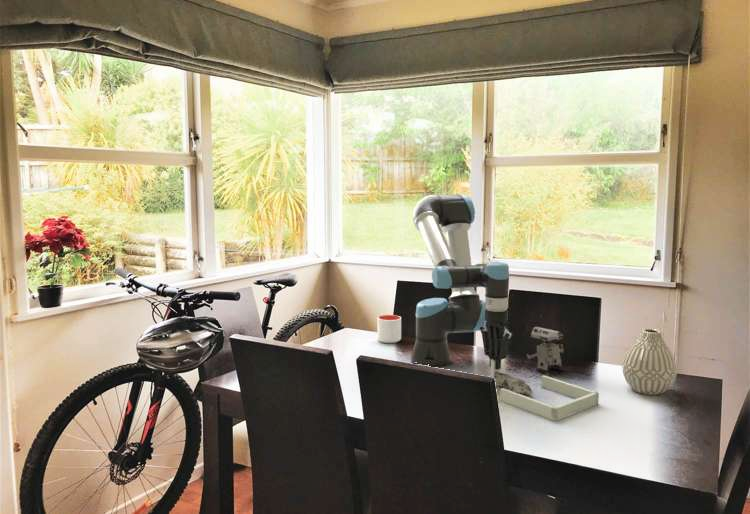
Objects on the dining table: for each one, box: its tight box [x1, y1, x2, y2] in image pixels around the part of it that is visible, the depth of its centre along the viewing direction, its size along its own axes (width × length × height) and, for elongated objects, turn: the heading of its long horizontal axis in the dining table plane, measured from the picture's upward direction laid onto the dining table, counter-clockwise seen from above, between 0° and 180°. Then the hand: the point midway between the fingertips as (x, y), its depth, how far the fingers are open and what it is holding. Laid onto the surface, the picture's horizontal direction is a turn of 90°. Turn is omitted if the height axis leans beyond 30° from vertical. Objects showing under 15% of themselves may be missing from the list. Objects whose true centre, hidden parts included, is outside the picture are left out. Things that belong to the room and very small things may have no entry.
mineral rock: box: [495, 371, 533, 395], centre depth 196 cm, size 15×8×4 cm, turn 15°
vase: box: [622, 328, 678, 396], centre depth 194 cm, size 16×16×20 cm
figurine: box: [523, 326, 565, 375], centre depth 216 cm, size 9×12×15 cm
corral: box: [499, 374, 600, 422], centre depth 186 cm, size 20×21×4 cm
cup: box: [377, 314, 402, 344], centre depth 255 cm, size 10×10×10 cm
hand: (494, 377), depth 203 cm, fingers closed
